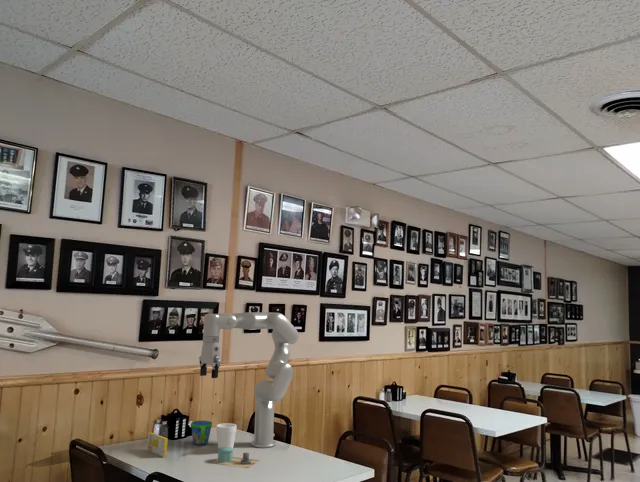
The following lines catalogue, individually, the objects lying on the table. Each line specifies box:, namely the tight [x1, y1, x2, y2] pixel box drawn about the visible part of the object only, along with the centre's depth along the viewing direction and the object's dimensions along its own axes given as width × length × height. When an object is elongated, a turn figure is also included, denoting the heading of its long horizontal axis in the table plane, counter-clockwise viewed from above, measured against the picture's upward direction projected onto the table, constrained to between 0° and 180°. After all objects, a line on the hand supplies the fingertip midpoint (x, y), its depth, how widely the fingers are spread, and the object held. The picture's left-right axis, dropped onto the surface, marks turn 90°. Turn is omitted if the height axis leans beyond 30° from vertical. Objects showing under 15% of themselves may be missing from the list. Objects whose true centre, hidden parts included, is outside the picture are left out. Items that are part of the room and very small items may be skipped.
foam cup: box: [215, 422, 238, 450], centre depth 247 cm, size 10×9×13 cm
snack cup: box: [190, 420, 213, 446], centre depth 264 cm, size 16×10×10 cm
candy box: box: [146, 431, 169, 458], centre depth 245 cm, size 16×2×8 cm, turn 45°
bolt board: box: [210, 452, 261, 469], centre depth 230 cm, size 12×18×6 cm, turn 73°
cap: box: [217, 447, 234, 463], centre depth 232 cm, size 6×6×5 cm
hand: (208, 376), depth 247 cm, fingers open, 9 cm apart
